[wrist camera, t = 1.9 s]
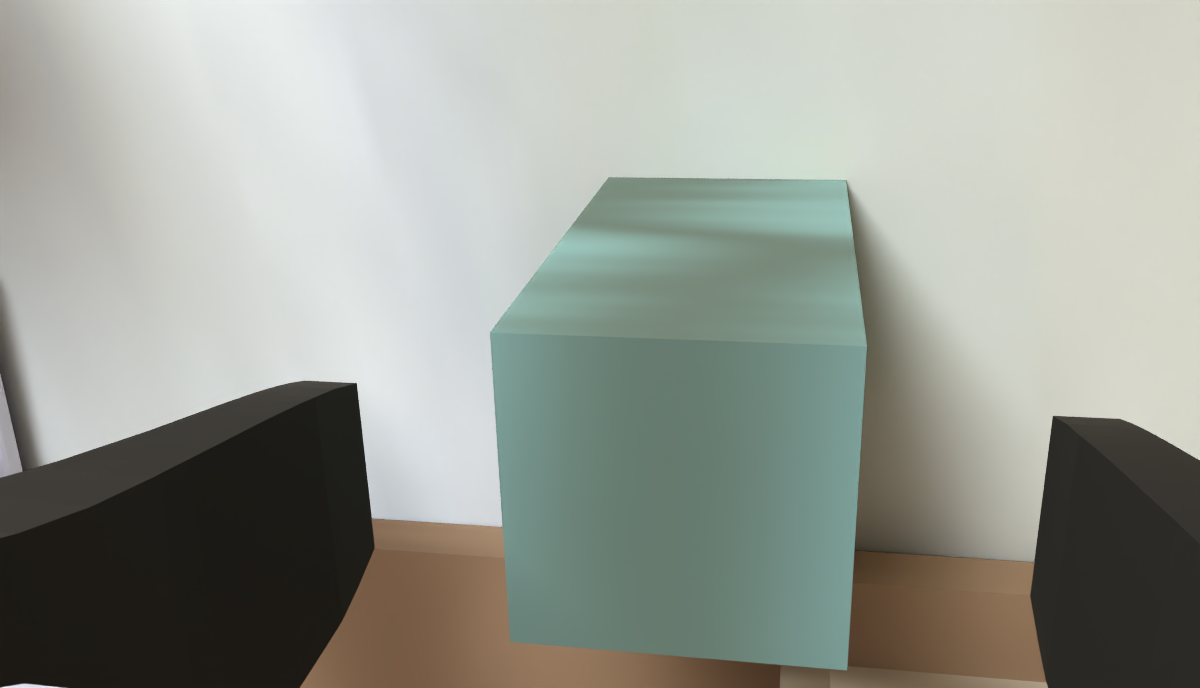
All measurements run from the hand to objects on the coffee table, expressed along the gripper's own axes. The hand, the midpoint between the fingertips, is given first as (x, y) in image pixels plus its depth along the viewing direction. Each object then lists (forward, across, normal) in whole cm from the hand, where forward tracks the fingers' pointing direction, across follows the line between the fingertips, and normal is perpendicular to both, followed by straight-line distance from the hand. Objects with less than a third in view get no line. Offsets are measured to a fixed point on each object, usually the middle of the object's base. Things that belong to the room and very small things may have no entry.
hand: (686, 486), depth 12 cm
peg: (+7, 0, 0) cm, 7 cm away
